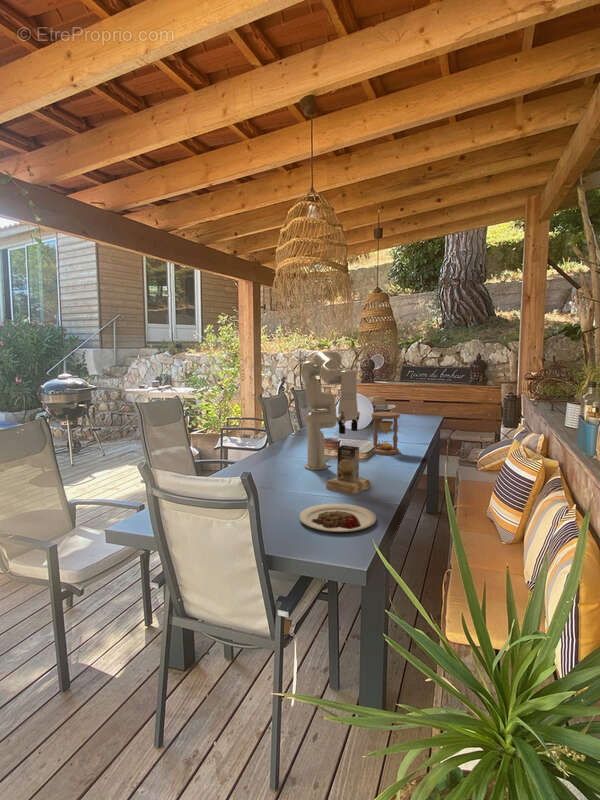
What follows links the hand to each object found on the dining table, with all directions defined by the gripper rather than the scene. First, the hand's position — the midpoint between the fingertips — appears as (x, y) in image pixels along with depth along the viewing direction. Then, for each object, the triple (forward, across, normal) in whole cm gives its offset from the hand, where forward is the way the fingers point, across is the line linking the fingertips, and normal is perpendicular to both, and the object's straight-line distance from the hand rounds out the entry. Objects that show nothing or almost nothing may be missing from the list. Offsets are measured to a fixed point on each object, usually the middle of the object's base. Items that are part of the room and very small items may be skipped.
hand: (348, 432), depth 225 cm
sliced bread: (+27, 0, 0) cm, 27 cm away
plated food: (+28, +37, +23) cm, 51 cm away
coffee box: (+24, 0, 0) cm, 24 cm away
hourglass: (+28, -78, -29) cm, 88 cm away
